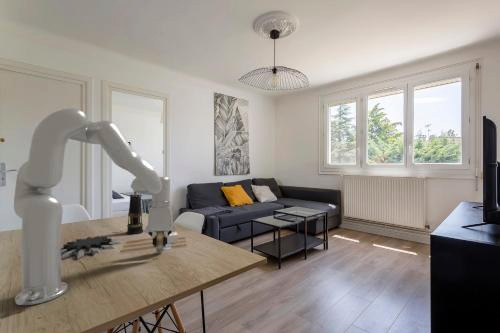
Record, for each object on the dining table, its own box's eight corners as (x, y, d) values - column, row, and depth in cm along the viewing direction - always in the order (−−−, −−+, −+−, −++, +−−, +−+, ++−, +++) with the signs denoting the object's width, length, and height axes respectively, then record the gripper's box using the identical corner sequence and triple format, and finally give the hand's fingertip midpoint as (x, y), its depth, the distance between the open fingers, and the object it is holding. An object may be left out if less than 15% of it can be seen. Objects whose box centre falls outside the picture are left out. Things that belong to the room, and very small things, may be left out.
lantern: (135, 235, 144) (135, 182, 143) (122, 233, 147) (122, 182, 146) (146, 231, 152) (146, 181, 152) (134, 230, 155) (133, 181, 155)
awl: (163, 251, 110) (164, 232, 110) (155, 252, 109) (155, 232, 110) (164, 249, 114) (164, 230, 114) (156, 249, 113) (156, 230, 113)
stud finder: (177, 242, 126) (177, 234, 126) (160, 244, 123) (160, 235, 123) (177, 239, 130) (177, 231, 130) (160, 241, 128) (160, 233, 128)
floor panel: (186, 249, 119) (186, 247, 119) (118, 256, 111) (118, 253, 111) (184, 237, 138) (184, 235, 138) (127, 242, 130) (127, 240, 130)
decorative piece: (88, 231, 138) (136, 234, 132) (88, 238, 138) (136, 241, 132) (29, 250, 109) (88, 255, 103) (30, 259, 109) (88, 264, 103)
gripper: (139, 206, 106) (138, 250, 106) (180, 205, 111) (179, 247, 110) (141, 203, 113) (140, 245, 113) (179, 203, 118) (179, 242, 118)
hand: (160, 245), depth 112 cm, fingers closed on awl, 3 cm apart
